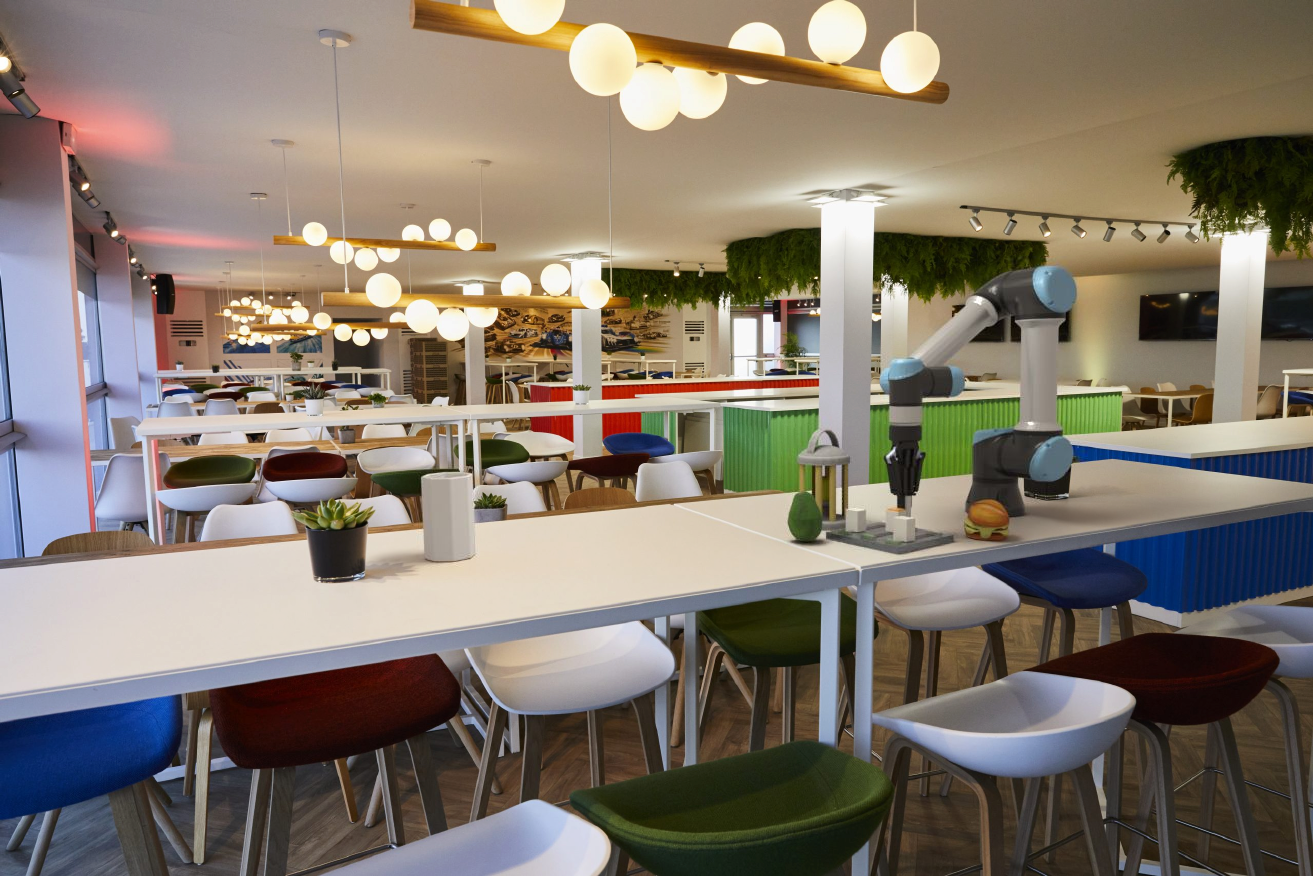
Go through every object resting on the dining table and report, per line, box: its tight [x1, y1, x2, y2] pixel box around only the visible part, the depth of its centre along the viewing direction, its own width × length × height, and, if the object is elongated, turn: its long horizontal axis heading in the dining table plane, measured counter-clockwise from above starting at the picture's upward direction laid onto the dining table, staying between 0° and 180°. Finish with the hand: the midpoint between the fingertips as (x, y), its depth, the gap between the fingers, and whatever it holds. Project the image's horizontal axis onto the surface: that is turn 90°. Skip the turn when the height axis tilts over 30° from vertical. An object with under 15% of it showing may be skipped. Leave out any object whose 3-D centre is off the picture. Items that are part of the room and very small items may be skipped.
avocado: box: [787, 490, 823, 543], centre depth 193 cm, size 8×8×12 cm
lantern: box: [796, 427, 851, 532], centre depth 211 cm, size 14×14×25 cm
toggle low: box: [846, 507, 867, 532], centre depth 196 cm, size 3×4×5 cm
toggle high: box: [893, 516, 916, 542], centre depth 185 cm, size 3×4×5 cm
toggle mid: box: [885, 506, 906, 532], centre depth 194 cm, size 3×4×5 cm
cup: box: [420, 471, 477, 563], centre depth 184 cm, size 11×11×18 cm
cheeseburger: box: [963, 500, 1010, 542], centre depth 193 cm, size 10×11×10 cm
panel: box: [825, 520, 955, 555], centre depth 193 cm, size 20×21×2 cm
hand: (904, 522), depth 196 cm, fingers closed
